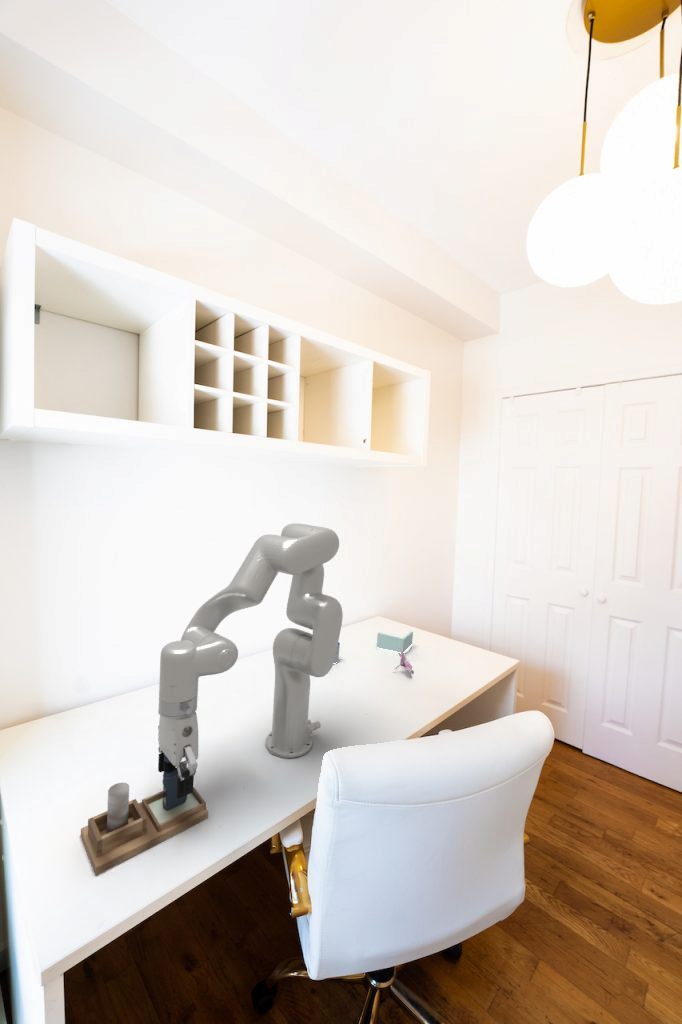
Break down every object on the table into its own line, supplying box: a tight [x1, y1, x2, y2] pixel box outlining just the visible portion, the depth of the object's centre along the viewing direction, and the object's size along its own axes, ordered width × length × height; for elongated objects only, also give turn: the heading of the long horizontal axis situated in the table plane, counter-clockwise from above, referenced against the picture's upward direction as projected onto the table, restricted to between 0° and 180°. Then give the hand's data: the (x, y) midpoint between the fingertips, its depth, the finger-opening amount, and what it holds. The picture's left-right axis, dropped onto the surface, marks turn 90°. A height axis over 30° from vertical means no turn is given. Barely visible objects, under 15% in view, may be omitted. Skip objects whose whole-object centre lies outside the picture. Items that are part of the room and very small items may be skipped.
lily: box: [395, 646, 413, 674], centre depth 166 cm, size 12×12×10 cm
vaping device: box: [161, 756, 188, 811], centre depth 91 cm, size 3×5×12 cm, turn 132°
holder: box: [80, 782, 209, 876], centre depth 87 cm, size 21×11×10 cm, turn 133°
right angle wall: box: [376, 631, 414, 652], centre depth 191 cm, size 12×12×8 cm
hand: (175, 781), depth 91 cm, fingers open, 9 cm apart
